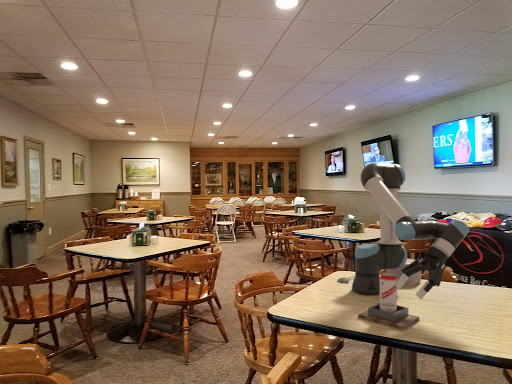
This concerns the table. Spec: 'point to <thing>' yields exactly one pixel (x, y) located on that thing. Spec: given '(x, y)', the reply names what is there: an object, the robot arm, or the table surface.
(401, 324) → the keeper board
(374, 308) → the grey shallow square box
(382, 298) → the beer can
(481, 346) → the table surface
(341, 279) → the soupspoon
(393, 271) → the container
